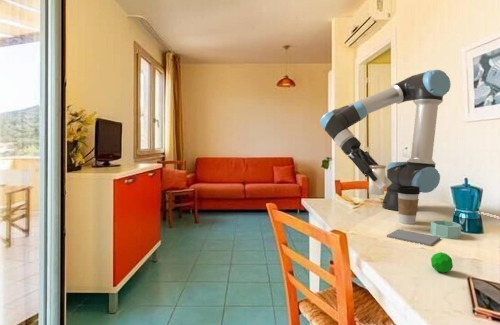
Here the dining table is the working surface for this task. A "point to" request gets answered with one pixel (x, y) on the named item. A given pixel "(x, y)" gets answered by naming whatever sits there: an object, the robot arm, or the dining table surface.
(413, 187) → the coffee cup
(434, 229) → the bowl
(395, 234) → the mat
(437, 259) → the polyhedron
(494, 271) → the dining table surface
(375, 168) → the tumbler
